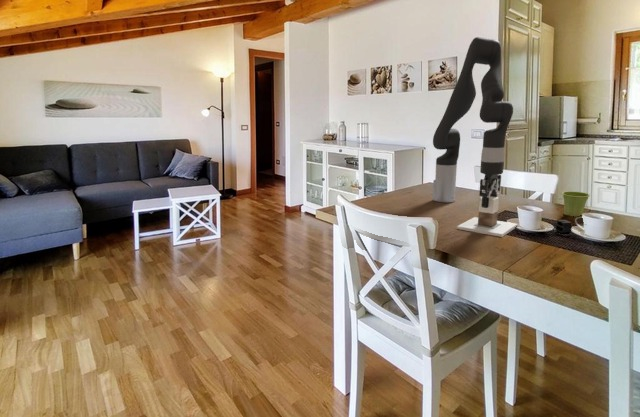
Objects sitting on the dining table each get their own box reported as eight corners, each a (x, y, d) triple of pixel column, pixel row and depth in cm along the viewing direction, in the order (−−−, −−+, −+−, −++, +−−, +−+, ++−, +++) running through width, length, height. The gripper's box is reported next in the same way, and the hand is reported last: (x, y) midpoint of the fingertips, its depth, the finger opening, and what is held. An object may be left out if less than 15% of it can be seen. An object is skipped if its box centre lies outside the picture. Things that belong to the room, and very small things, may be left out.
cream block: (478, 211, 152) (479, 198, 151) (484, 208, 155) (485, 195, 154) (493, 213, 148) (494, 199, 147) (497, 210, 152) (499, 197, 151)
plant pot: (591, 218, 163) (594, 196, 161) (564, 217, 164) (567, 196, 162) (581, 212, 172) (583, 191, 169) (556, 211, 173) (558, 191, 171)
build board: (457, 228, 153) (457, 225, 153) (474, 219, 164) (474, 216, 164) (502, 237, 142) (502, 233, 142) (517, 226, 154) (517, 223, 154)
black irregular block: (542, 229, 152) (544, 217, 151) (562, 228, 152) (563, 216, 151) (564, 239, 140) (565, 226, 139) (585, 238, 140) (587, 225, 139)
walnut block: (477, 224, 153) (478, 211, 152) (483, 221, 157) (484, 208, 155) (491, 227, 150) (492, 213, 149) (496, 224, 153) (497, 210, 152)
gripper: (495, 163, 140) (492, 211, 144) (510, 158, 150) (506, 203, 154) (473, 161, 145) (470, 207, 149) (489, 157, 155) (486, 200, 159)
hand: (488, 205), depth 151 cm, fingers open, 7 cm apart
